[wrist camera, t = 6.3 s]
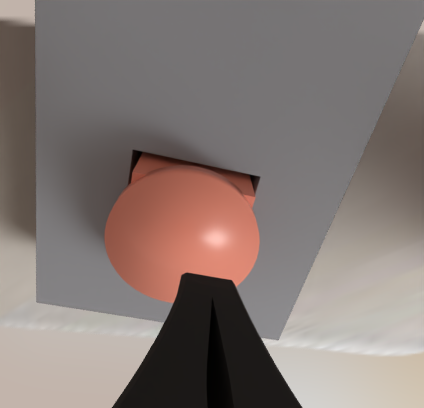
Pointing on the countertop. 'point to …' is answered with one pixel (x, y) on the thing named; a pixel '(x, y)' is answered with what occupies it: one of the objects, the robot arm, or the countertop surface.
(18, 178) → the countertop surface
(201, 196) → the red plug
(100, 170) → the plug panel
